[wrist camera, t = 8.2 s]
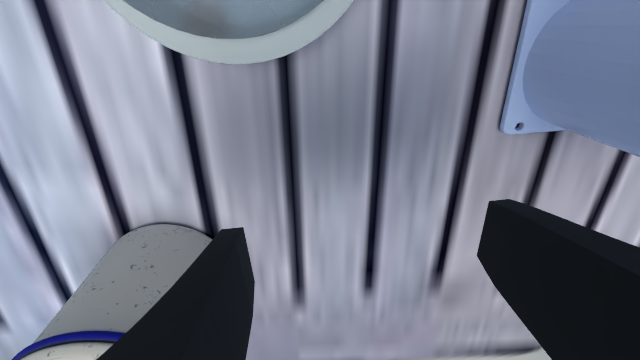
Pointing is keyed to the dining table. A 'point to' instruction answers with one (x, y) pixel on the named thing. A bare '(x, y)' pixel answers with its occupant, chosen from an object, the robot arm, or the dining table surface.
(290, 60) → the dining table surface
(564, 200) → the dining table surface
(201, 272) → the robot arm
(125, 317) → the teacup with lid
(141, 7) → the lid
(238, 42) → the pot
